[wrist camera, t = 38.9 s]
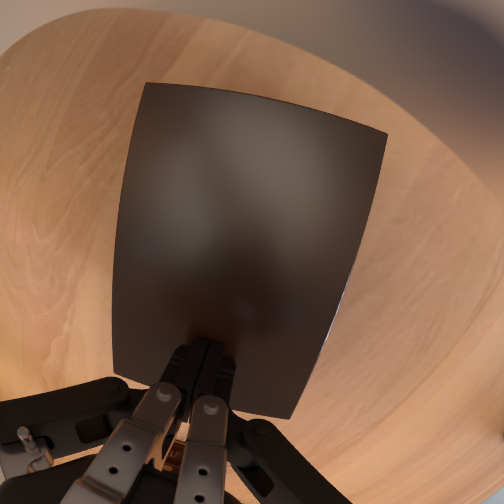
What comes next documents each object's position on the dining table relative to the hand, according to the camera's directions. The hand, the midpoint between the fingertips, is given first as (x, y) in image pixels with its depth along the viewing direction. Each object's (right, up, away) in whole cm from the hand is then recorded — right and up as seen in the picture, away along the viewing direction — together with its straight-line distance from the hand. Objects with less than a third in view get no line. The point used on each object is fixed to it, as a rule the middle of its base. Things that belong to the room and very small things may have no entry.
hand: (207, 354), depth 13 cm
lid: (+1, +4, 0) cm, 4 cm away
